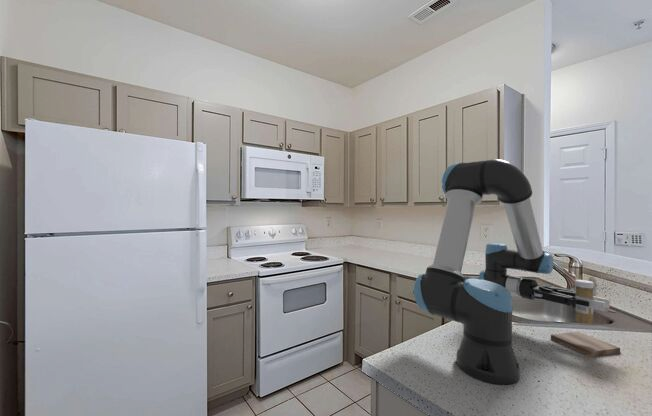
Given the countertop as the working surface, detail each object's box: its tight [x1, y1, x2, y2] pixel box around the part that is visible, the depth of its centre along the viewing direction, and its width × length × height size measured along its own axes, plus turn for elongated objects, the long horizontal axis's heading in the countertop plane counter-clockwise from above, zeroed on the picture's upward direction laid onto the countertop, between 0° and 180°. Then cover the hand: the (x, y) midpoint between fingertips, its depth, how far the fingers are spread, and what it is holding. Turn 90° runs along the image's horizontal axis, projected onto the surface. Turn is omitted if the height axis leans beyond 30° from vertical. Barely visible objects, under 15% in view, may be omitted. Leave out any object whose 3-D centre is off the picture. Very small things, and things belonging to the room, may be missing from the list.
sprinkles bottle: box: [574, 279, 595, 325], centre depth 93 cm, size 5×5×14 cm
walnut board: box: [550, 331, 621, 358], centre depth 92 cm, size 12×12×2 cm
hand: (606, 305), depth 88 cm, fingers closed on sprinkles bottle, 4 cm apart
